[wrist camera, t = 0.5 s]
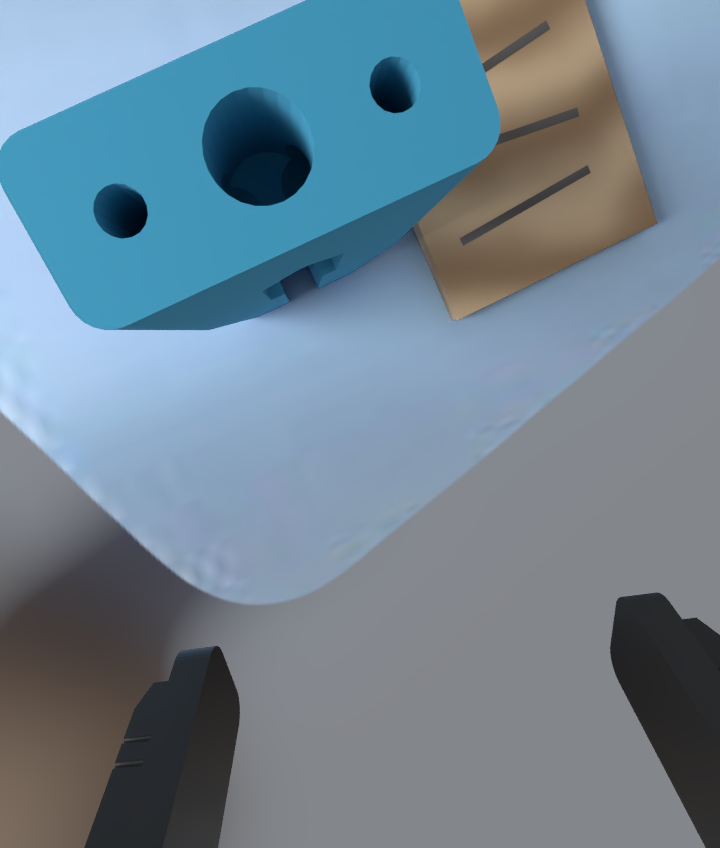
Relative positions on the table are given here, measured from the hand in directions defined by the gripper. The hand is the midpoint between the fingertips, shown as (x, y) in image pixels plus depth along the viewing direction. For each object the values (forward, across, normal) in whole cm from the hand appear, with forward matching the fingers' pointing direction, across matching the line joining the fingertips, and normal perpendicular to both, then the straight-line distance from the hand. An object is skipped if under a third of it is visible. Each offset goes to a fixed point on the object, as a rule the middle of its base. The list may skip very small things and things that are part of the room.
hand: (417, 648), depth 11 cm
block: (+27, +4, -4) cm, 27 cm away
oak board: (+29, -10, -8) cm, 32 cm away
